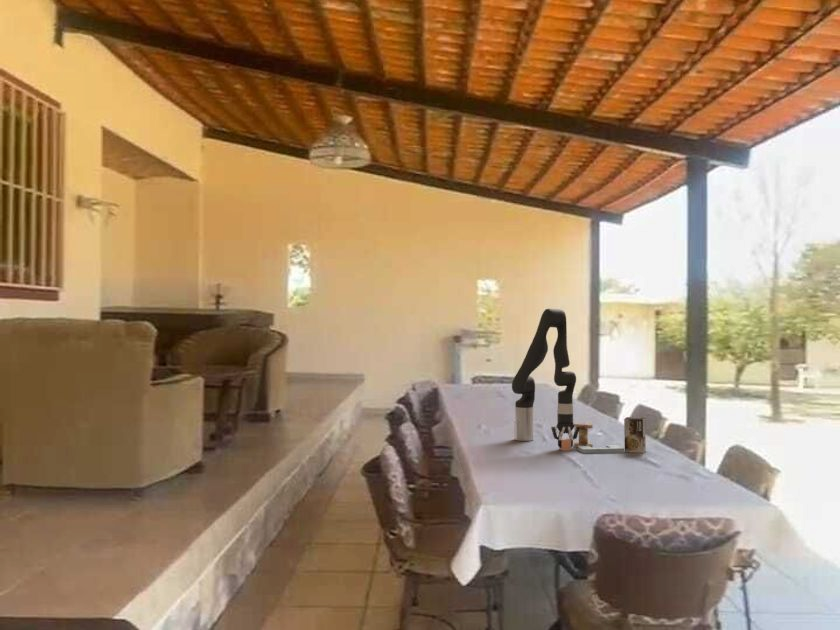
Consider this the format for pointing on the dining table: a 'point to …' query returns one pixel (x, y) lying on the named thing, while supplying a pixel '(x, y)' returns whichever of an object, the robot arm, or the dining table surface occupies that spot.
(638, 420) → the coffee box
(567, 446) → the orange block
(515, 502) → the dining table surface
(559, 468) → the dining table surface
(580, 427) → the knob
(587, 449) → the notch board
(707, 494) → the dining table surface
